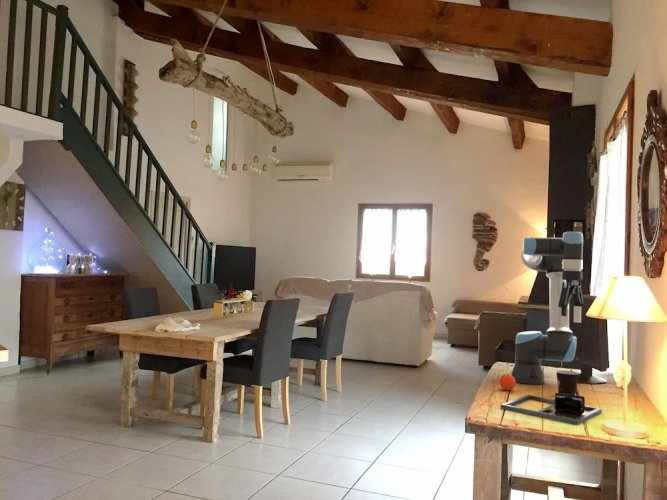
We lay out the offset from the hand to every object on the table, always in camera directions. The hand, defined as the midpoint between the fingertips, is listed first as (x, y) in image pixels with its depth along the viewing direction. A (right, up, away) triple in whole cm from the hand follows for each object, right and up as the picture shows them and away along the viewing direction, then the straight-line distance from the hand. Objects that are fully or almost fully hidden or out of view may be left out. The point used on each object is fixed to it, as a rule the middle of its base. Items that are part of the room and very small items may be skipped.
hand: (571, 323), depth 227 cm
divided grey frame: (-13, -31, -14) cm, 36 cm away
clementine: (-20, -32, +20) cm, 42 cm away
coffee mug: (+2, -32, +10) cm, 34 cm away
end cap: (-8, -31, -18) cm, 37 cm away
